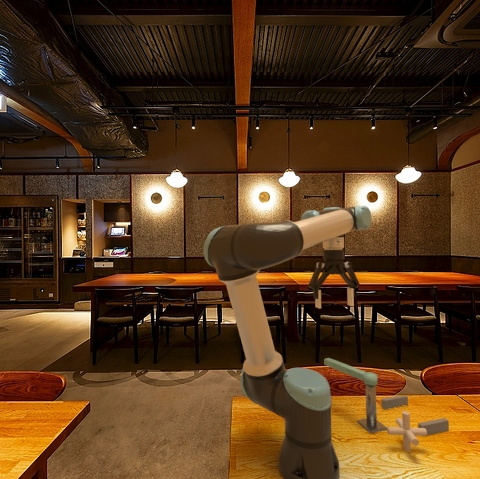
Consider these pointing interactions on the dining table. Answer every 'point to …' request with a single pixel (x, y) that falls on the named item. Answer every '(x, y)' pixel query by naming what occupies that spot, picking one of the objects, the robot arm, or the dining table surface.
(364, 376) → the grey-green bar
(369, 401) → the pivot post
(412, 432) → the pipe connector
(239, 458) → the dining table surface
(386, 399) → the rails
